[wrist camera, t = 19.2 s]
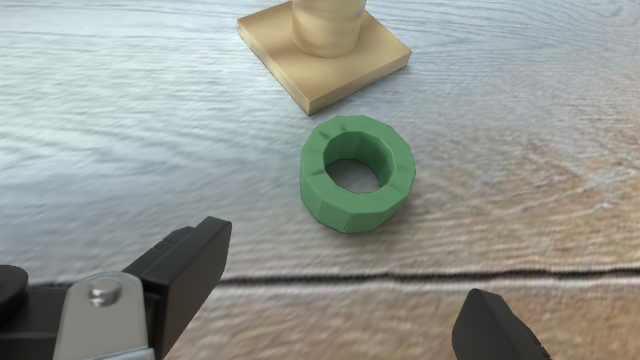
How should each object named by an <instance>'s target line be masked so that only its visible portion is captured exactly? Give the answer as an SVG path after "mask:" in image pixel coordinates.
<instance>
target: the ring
mask: <svg viewBox="0 0 640 360" xmlns="http://www.w3.org/2000/svg"><path fill="white" fill-rule="evenodd" d="M337 159H355V160H358V161H360V162H362V163H365V164H367V165H368V166H369V167H370V168H371V169H372V170H373V171H374V173H375V174H376V175H377V176H378V180H379V185H380V189H378V190H377V191H375V192H371V193H353V192H351V191H348V190H346V189H344V188H342V187H339V186H337V185H336V184H335V182H334V181H333V180H332V179H331V177H330V176H329V175H328V174H327V172H326V171H325V166H327V165H329V164H330V163H332V162H334V161H335V160H337ZM415 174H416V168H415V164H414V161H413V157H412V153H411V150H410V146H409V145H408V144H407V143H406V142H405V141H404V140H403V139H402V138H401V137H400V136H399V135H398V134H397V133H396V132H395V131H394V129H393V128H392V127H390V126H389V125H386V124H384V123H381V122H379V121H376V120H374V119H371V118H369V117H367V116H364V115H362V116H337V117H335V118H333V119H331V120H329V121H327V122H325V123H323V124H321V125H320V126H318V127H316V128H315V129H313V131H312V133H311V135H310V136H309V138H308V140H307V141H306V143H305V145H304V147H303V148H302V151H301V165H300V186H301V198H302V201H303V202H304V204H305V205H306V206H307V208H308V209H309V210H310V212H311V213H312V215H313V216H314V217H315V219H316V220H317V221H319V222H320V223H323V224H325V225H327V226H329V227H331V228H334V229H336V230H338V231H340V232H344V233H352V232H366V231H372V230H373V229H375V228H376V227H378V226H379V225H380V224H382V223H383V222H385V221H386V220H387V219H389V218H390V217H391V216H392V215H393V214H394V212H395V211H396V210H397V209H398V207H399V206H400V205H401V204H402V202H403V201H404V200H405V199H406V197H407V196H408V194H409V191H410V188H411V186H412V183H413V180H414V177H415Z"/></svg>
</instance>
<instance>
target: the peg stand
mask: <svg viewBox="0 0 640 360" xmlns="http://www.w3.org/2000/svg"><path fill="white" fill-rule="evenodd" d="M365 4H366V0H291V1H288V2H285V3H282V4H279V5H277V6H274V7H271V8H268V9H265V10H262V11H260V12H257V13H254V14H251V15H248V16H245V17H243V18H240V19H238V27H239V33H240V36H241V37H242V38H243V40H244V41H245V42H246V43H247V44H248V45H249V47H250V48H251V49H252V50H253V51H254V53H255V54H256V55H257V56H258V57H259V58H260V60H261V61H262V62H263V63H264V64H265V65H266V67H267V68H268V69H269V70H270V71H271V73H272V74H273V75H274V76H275V77H276V78H277V80H278V81H279V82H280V83H281V84H282V85H283V87H284V88H285V89H286V90H287V91H288V92H289V94H290V95H291V96H292V97H293V98H294V100H295V101H296V102H297V103H298V104H299V105H300V107H301V108H302V109H303V110H304V111H305V112H306V114H307V115H308V116H309V115H311V114H313V113H315V112H317V111H319V110H321V109H323V108H325V107H327V106H329V105H331V104H333V103H335V102H337V101H338V100H340V99H342V98H344V97H346V96H348V95H350V94H352V93H354V92H356V91H358V90H360V89H362V88H364V87H366V86H368V85H370V84H372V83H374V82H376V81H378V80H380V79H382V78H383V77H385V76H387V75H389V74H391V73H393V72H395V71H397V70H399V69H401V68H403V67H405V66H406V65H407V63H408V60H409V58H410V55H411V53H412V51H411V50H410V49H409V48H407V47H406V46H405V45H404V44H403V43H402V42H401V41H400V40H398V39H397V38H396V37H395V36H394V35H393V34H392V33H391V32H389V31H388V30H387V29H386V28H385V27H384V26H383V25H382V24H380V23H379V22H378V21H377V20H376V19H375V18H374V17H373V16H371V15H370V14H369V13H368V12H367V11H366V10H365Z"/></svg>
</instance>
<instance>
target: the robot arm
mask: <svg viewBox="0 0 640 360" xmlns="http://www.w3.org/2000/svg"><path fill="white" fill-rule="evenodd" d="M231 230H232V223H231V222H229V221H226V220H222V219H218V218H215V217H211V216H208V217H207V218H205V219H204V220H203V221H202V222H201V223H200V224H198V225H197V226H196V227H195V228H194V227H190V226H187V227H184V228H181V229H178V230H175V231H173V232H172V233H170V234H169V235H168V236H166V237H165V238H164V239H163V240H162V241H160V242H159V243H157V244H156V245H155V246H154V247H153V248H151V249H150V250H148V251H147V252H146V253H144V254H143V255H142V256H141V257H139V258H138V259H137V260H135V261H134V262H133V263H132V264H130V265H129V266H128V267H126V268H125V269H124V270H123V271H121V272H103V273H98V274H94V275H91V276H88V277H86V278H83V279H81V280H80V281H78V282H76V283H75V284H74V285H73V286H72V287H71V288H70V289H43V288H29V286H28V274H27V272H26V271H25V270H23V269H21V268H19V267H16V266H11V265H0V360H163V359H164V358H165V356H166V355H167V353H168V352H169V351H170V349H171V348H172V346H173V345H174V344H175V342H176V341H177V339H178V338H179V337H180V335H181V334H182V332H183V331H184V330H185V328H186V327H187V325H188V324H189V323H190V321H191V320H192V318H193V317H194V316H195V314H196V313H197V311H198V310H199V309H200V307H201V306H202V304H203V303H204V302H205V300H206V299H207V297H208V296H209V295H210V293H211V292H212V290H213V289H214V288H215V286H216V285H217V283H218V282H219V280H220V278H221V276H222V274H223V271H224V268H225V265H226V260H227V254H228V248H229V242H230V236H231ZM452 346H453V349H454V352H455V355H456V357H457V360H552V359H550V355H549V354H548V353H547V351H546V350H545V349H544V347H542V346H541V343H540V342H539V340H538V339H537V338H536V336H535V335H534V334H533V332H532V331H531V329H529V328H528V327H527V326H526V325H525V324H524V323H523V322H522V321H521V320H519V319H518V318H517V317H516V316H515V315H514V314H513V312H512V311H511V310H510V308H509V307H508V305H507V304H506V303H505V301H504V300H503V298H502V297H501V296H500V295H498V294H494V293H491V292H487V291H483V290H479V289H476V288H474V289H472V290H471V291H470V292H469V294H468V296H467V298H466V300H465V302H464V304H463V307H462V309H461V311H460V313H459V316H458V318H457V320H456V322H455V325H454V327H453V331H452Z"/></svg>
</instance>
